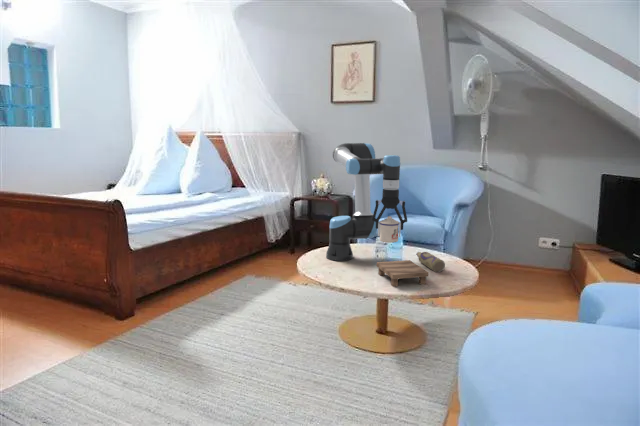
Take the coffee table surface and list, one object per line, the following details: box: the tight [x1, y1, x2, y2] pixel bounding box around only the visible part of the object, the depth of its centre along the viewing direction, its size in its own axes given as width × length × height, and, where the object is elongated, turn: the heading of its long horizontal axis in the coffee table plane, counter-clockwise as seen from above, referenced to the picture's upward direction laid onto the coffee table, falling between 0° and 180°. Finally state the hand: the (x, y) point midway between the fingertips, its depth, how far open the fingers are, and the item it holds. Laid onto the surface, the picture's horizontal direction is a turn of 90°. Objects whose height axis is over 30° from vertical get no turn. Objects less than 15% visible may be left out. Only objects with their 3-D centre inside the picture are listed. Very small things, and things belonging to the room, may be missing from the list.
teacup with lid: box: [379, 215, 400, 244], centre depth 203 cm, size 12×9×12 cm
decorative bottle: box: [416, 251, 446, 273], centre depth 232 cm, size 26×8×7 cm, turn 11°
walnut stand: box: [376, 259, 430, 287], centre depth 209 cm, size 20×18×6 cm
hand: (389, 235), depth 204 cm, fingers closed on teacup with lid, 9 cm apart
